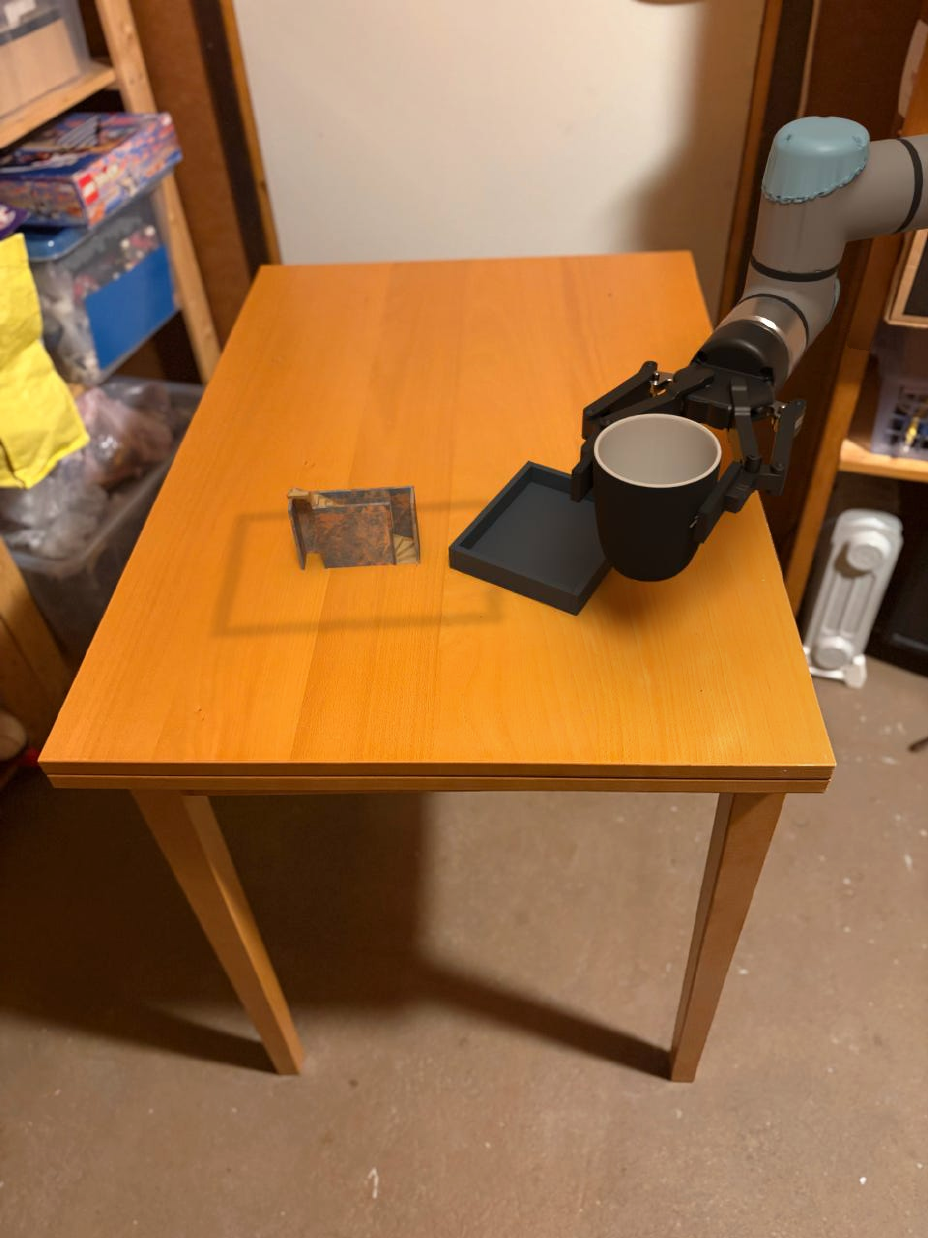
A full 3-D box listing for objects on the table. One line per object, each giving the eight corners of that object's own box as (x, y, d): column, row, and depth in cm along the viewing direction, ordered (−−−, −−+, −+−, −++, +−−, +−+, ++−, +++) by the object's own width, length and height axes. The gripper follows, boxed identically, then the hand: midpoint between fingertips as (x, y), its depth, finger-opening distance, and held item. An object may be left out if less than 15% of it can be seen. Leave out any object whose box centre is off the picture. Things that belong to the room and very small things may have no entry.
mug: (695, 605, 68) (711, 495, 61) (577, 583, 71) (579, 476, 64) (720, 506, 76) (737, 398, 69) (612, 489, 79) (618, 384, 72)
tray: (647, 519, 91) (650, 498, 90) (577, 616, 82) (578, 596, 81) (528, 480, 97) (528, 460, 95) (449, 567, 88) (448, 547, 86)
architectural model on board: (301, 576, 88) (282, 495, 81) (304, 555, 90) (286, 474, 84) (420, 569, 88) (411, 487, 81) (420, 548, 90) (412, 467, 83)
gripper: (864, 431, 77) (776, 595, 64) (626, 369, 86) (505, 503, 73) (889, 350, 72) (799, 510, 59) (632, 292, 81) (503, 421, 68)
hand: (636, 506), depth 66 cm, fingers closed on mug, 9 cm apart
